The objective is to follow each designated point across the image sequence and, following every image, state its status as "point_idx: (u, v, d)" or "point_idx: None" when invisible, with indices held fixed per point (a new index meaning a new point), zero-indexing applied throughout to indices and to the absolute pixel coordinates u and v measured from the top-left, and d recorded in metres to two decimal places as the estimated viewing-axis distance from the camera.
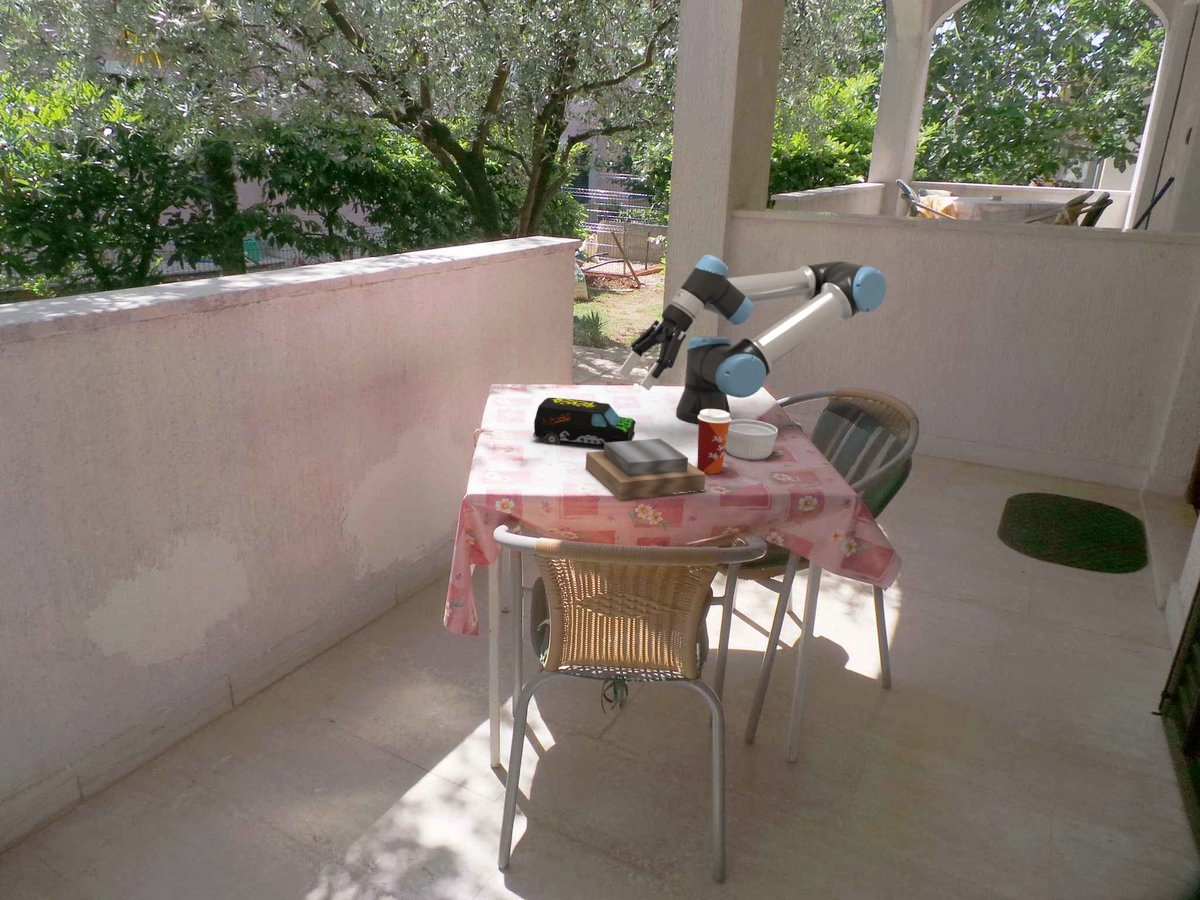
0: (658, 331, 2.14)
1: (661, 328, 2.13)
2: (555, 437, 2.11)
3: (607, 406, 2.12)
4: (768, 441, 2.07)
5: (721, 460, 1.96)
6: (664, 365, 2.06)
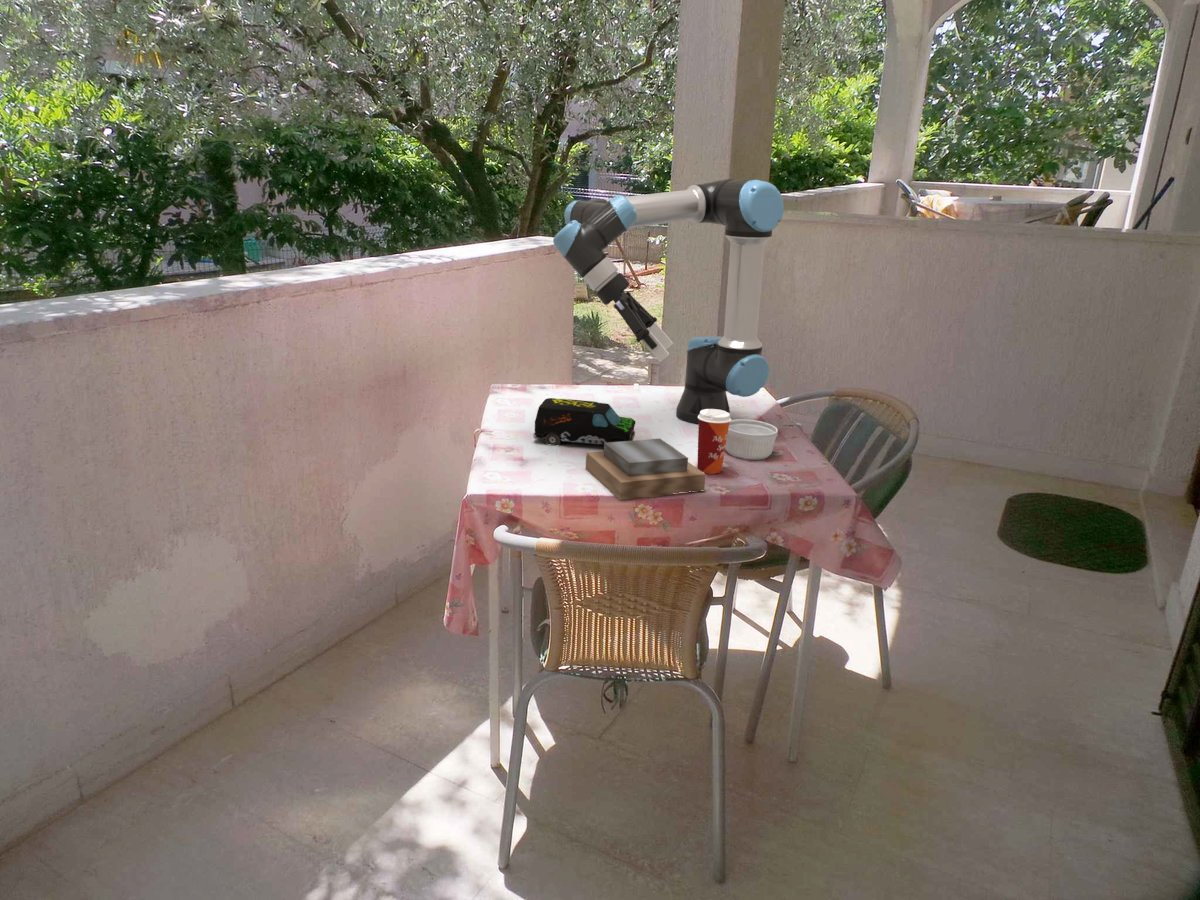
0: None
1: None
2: (556, 438, 2.10)
3: (607, 406, 2.12)
4: (768, 441, 2.07)
5: (721, 460, 1.96)
6: (643, 336, 1.88)
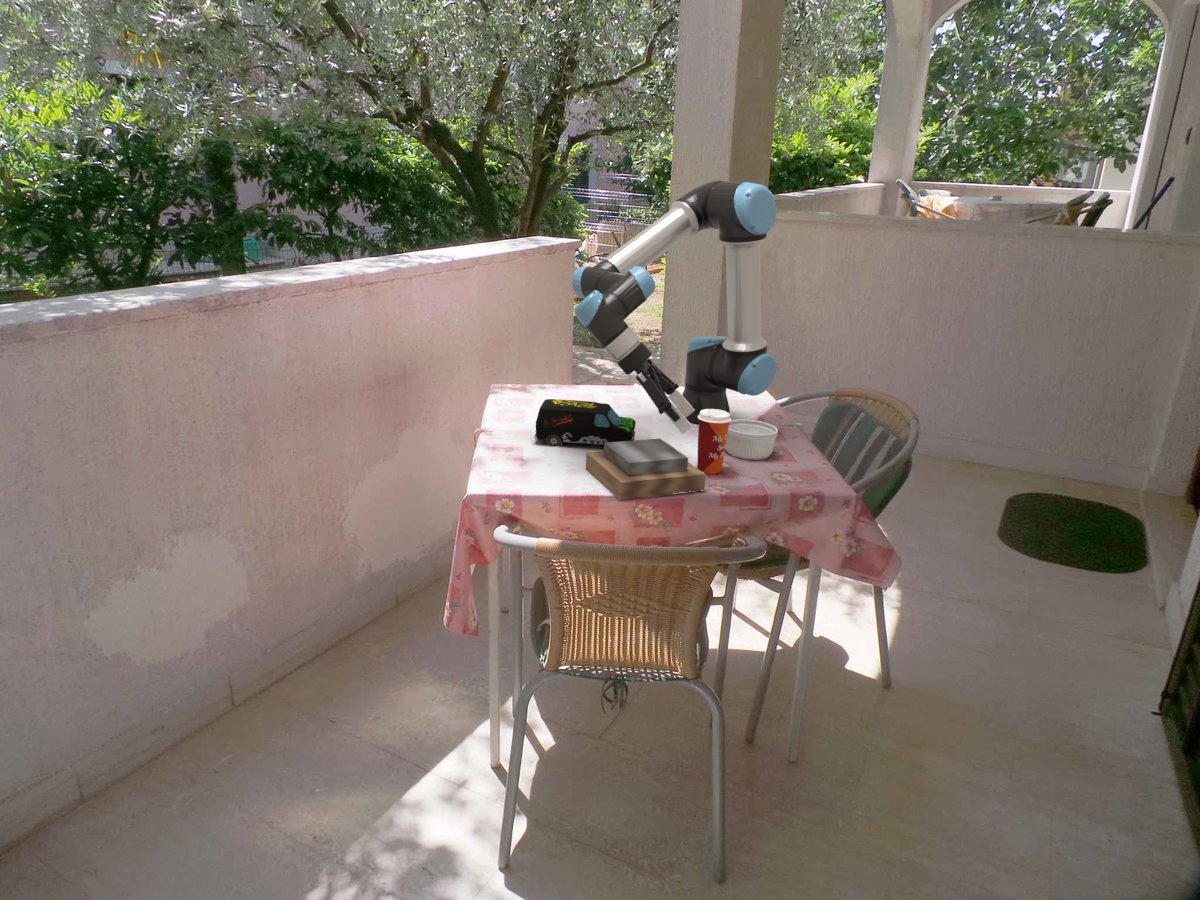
0: None
1: None
2: (557, 439, 2.10)
3: (608, 406, 2.12)
4: (768, 441, 2.07)
5: (721, 460, 1.96)
6: (665, 409, 1.86)
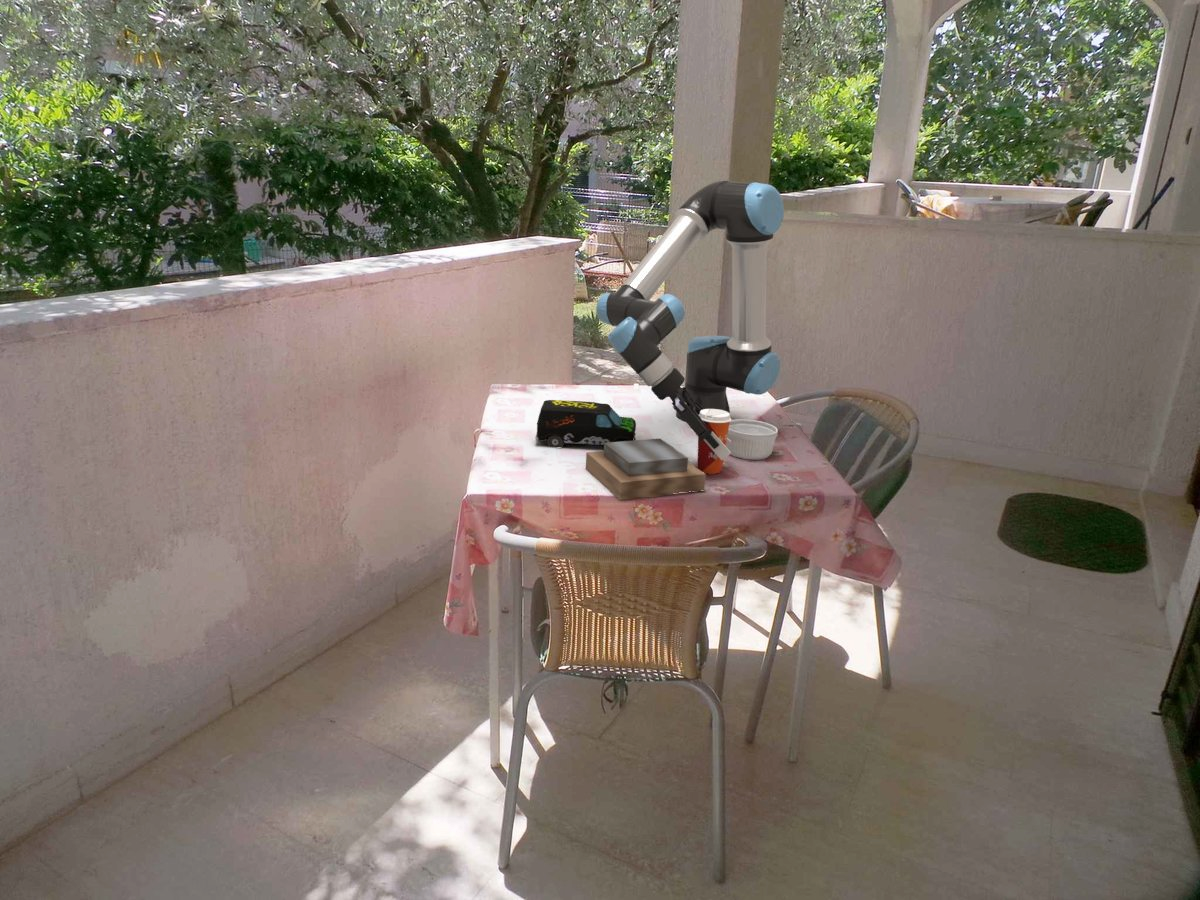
0: None
1: None
2: (559, 440, 2.09)
3: (608, 406, 2.12)
4: (768, 441, 2.07)
5: (721, 460, 1.96)
6: (705, 437, 1.90)
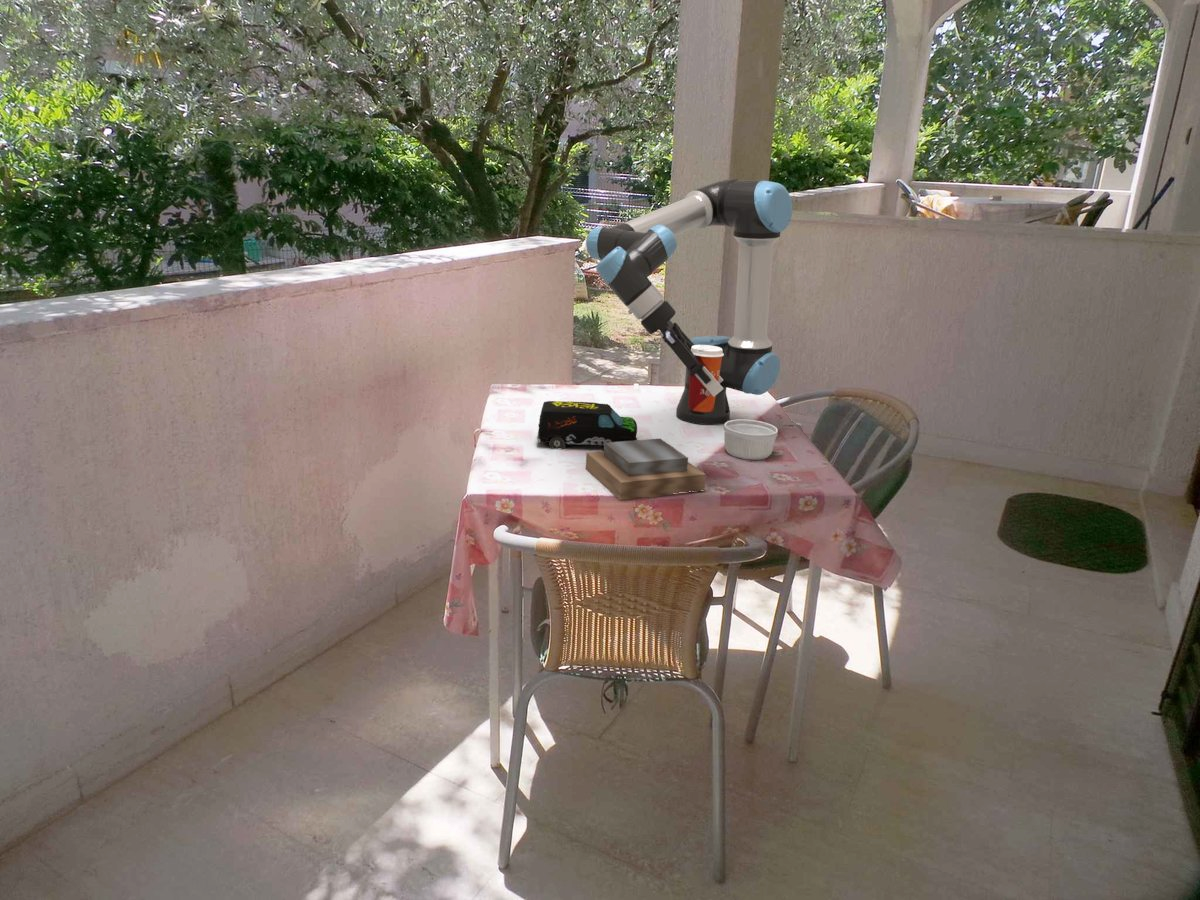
0: None
1: None
2: (561, 441, 2.08)
3: (609, 406, 2.11)
4: (768, 441, 2.07)
5: (713, 397, 1.89)
6: (696, 371, 1.83)
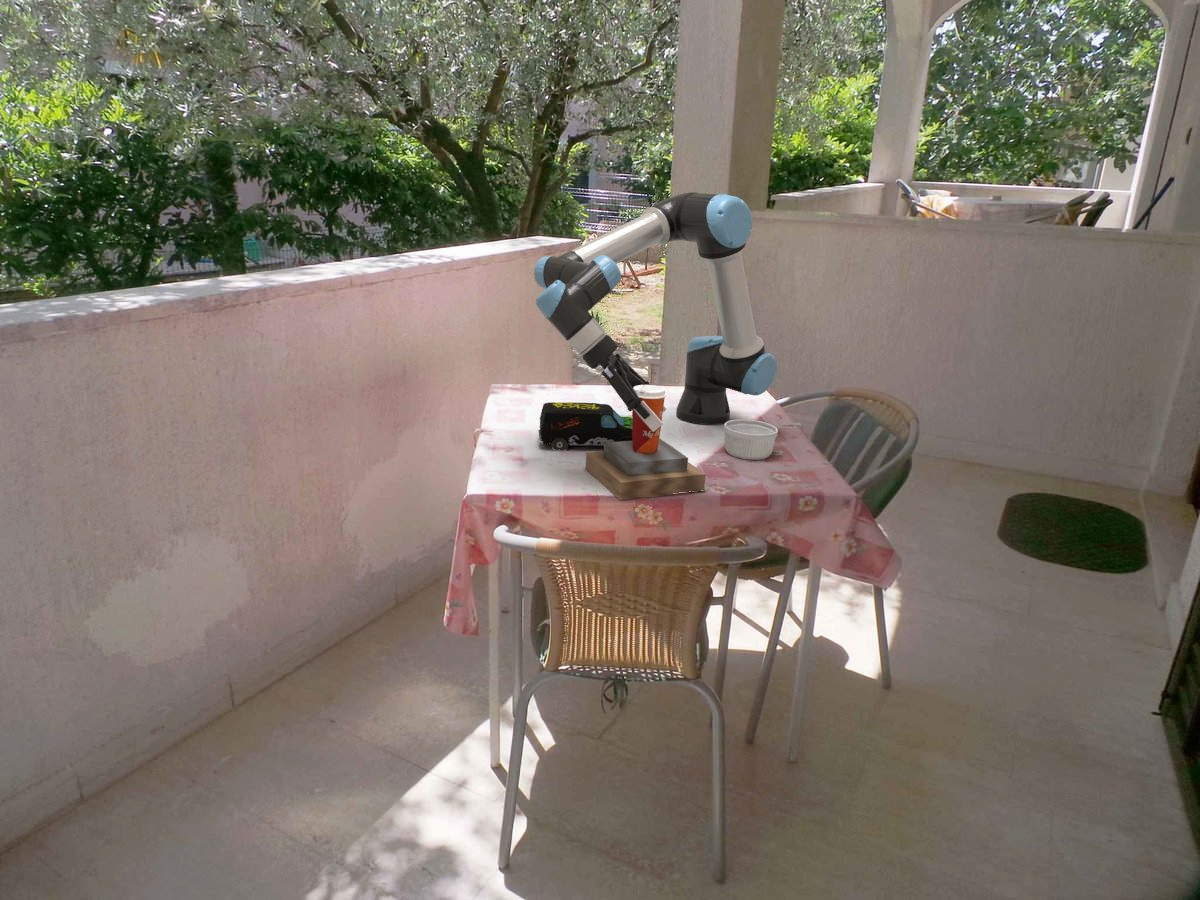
0: None
1: None
2: (564, 442, 2.07)
3: (610, 407, 2.11)
4: (768, 441, 2.07)
5: (656, 438, 1.86)
6: (634, 406, 1.77)
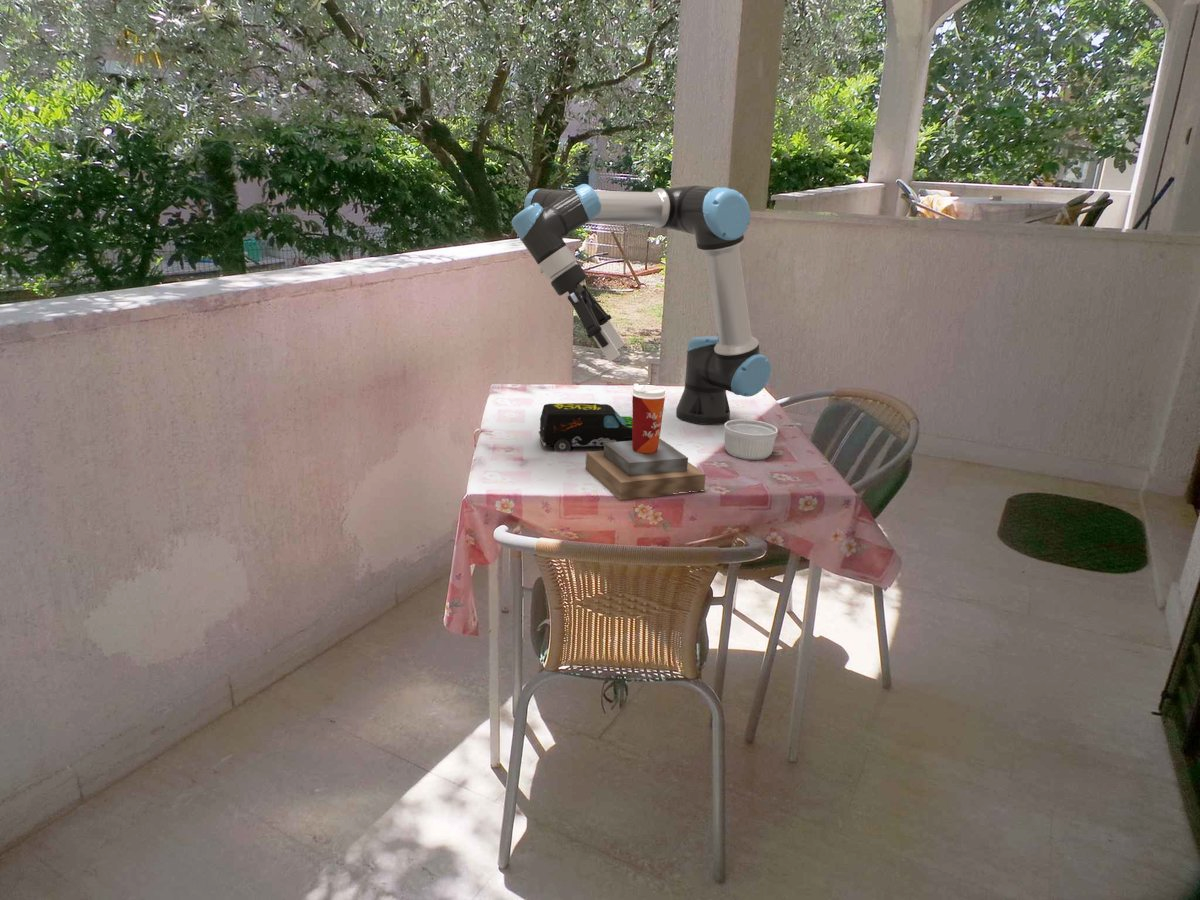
0: None
1: None
2: (566, 444, 2.06)
3: (611, 407, 2.11)
4: (768, 441, 2.07)
5: (656, 439, 1.86)
6: (594, 333, 1.79)
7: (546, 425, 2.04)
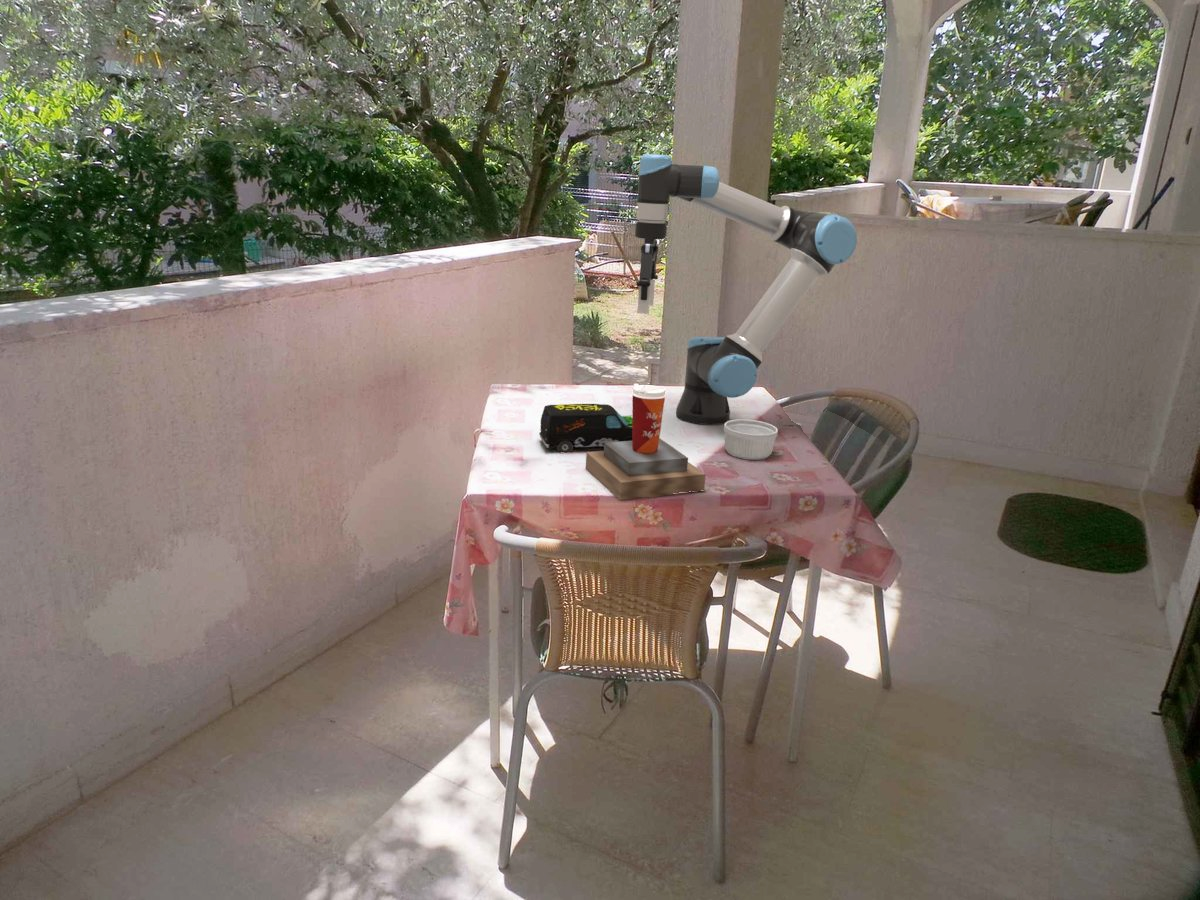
0: None
1: None
2: (569, 445, 2.06)
3: (612, 407, 2.11)
4: (768, 441, 2.07)
5: (656, 439, 1.86)
6: (643, 285, 2.02)
7: (549, 426, 2.03)
